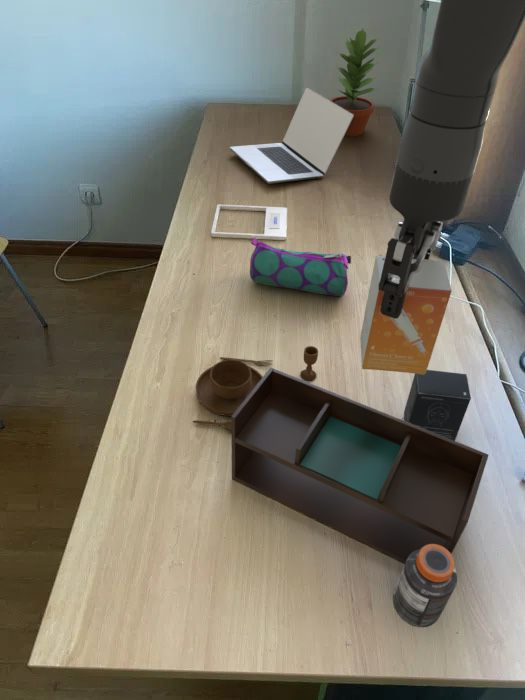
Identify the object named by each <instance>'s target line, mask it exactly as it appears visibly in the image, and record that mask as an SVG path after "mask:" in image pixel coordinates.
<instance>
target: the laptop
mask: <svg viewBox="0 0 525 700" xmlns="http://www.w3.org/2000/svg"><path fill="white" fill-rule="evenodd" d="M330 100H331V99H328V98H326V97H325V96H324V95H321V94H320V93H318V92H317V91H314V90H313V89H311V88H310V87H307V86H306V87H305V88H304V91H303V92H302V94H301V98H300V100H299V102H298V103H297V106H296V109H295V111H294V114H293V116H292V118H291V120H290V123H289V124H288V127H287V130H286V131H285V134H284V136H283V139H282V140H281V142H274V143H273V142H272V143H263V144H261V143H260V144H250V145H249V144H247V145H236V146H229V150H230V151H231V152H232V153H233V154H234V155H235V156H237V158H239V159H240V160H241V161H242V162H243V163H244V164H245V165H247V167H248V168H250V169H251V170H252V171H254V173H256V174H257V175H258V176H259V177H260V178H261V179H262V180H263V181H264V182H265V183H267V184H268V185H271V184H279V183H287V182H288V183H289V182H290V183H291V182H298V181H307V180H316V179H317V180H318V179H322V178H324V177H325V176H326V175H327V172H328V170H329V168H330V166H331V164H332V162H333V160H334V158H335V156H336V155H337V152H338V149H339V148H340V145H341V144H342V142H343V139H344V137H345V136H344V135H345V133H346V131H347V129H348V127H349V125H350V123H351V121H352V119H353V117H354V115H353V114H352V113H350V112H349V111H347V110H345V109H343V108H342V107H340V106H338V105H337V104H335V103H333V102H332V101H330Z"/></svg>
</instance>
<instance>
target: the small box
mask: <svg viewBox="0 0 525 700" xmlns="http://www.w3.org/2000/svg"><path fill="white" fill-rule="evenodd" d="M385 257H386V255H375V259H374V264H373V269H372V275H371V279H370V285H369V290H368V295H367V300H366V304H365V308H364V309H365V310H364V314H363V320H362V326H361V331H360V337H359V340H360V354H361V355H360V357H361V369H362V370H369V371H370V370H371V371H372V370H373V371H382V372H383V371H385V372H397V373H406V374H407V373H408V374H415V373H416V374H426V371H427V370H428V368H429V364H430V361H431V357H432V355H433V352H434V348H435V345H436V343H437V339H438V336H439V333H440V329H441V327H442V324H443V320H444V317H445V314H446V310H447V308H448V304H449V301H450V298H451V295H452V286H451V282H450V278H449V274H448V271H447V266H446V261H445V260H439V259H430V258H429V259H424V261H423V263H422V266H421V268H420V271H419V272H418V273H415V274H413V276H412V279H411V281H410V284H409V289H408V291H407V292H406V296H405V300H404V304H403V308H402V312H401V314H400V316H399V317H398V318H397V319H394V318H392V317H389V316H386V315H383V314H382V313H381V312H380V309H381V305H382V300H383V296H384V291H381V290H379V289H378V288H379V286H378V285H379V282H380V279H381V275H382V270H383V266H384V261H385ZM415 262H416V259H412V262H411V263H415ZM393 278H396V279H399V280H400V277H399V276H396V275H393Z"/></svg>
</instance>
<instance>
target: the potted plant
mask: <svg viewBox="0 0 525 700" xmlns="http://www.w3.org/2000/svg"><path fill="white" fill-rule="evenodd" d="M376 41H378V38H377V39H376V38H374V39H371V40H369V42H367V32H366V31H365V30H364V28H361V30H359V31H358V32H356V35H355V39H352V38H351V37H349V40H348V39H346V42H345V45H346V48H347V51H348V53H349V55H346V54H344V53H339V52H337V54H338V55H339V57H341V58H342V59H343V60H344V61H345V62H347V64H346V68H344V67H339V66H336V69H338V71H339V72H340V73H341V74H342V76H343V77H344V78H343V77H340V76H338V77H339V79H338V81H339V82H340V83H341V85H342V86H343V87H344V88H345V91H342V90H340V89H338V91H339V92H340V93H341V94H343V95H341V96H335V97H333V98H331V99H329V100H330V101H332V102H333V103H335V104H337V105H338V106H340V107H342V108H343V109H345V110H347V111H349V112H350V113H352V114H353V115H354V117H353V119H352V121H351V123H350V125H349V127H348V129H347V131H346V133H345V135H344V137H357V136H361V135H363V133H364V132H365V129H366V127H367V124H368V122H369V119H370V117H371V115H372V114H373V113H374V108H375V104H374V102H373V101H371V100H370V99H367V98H365V97H361V95H365V94H369V93H371V92H374V91H376V90H378V88H374V87H368V88H365V89H362V88H363V87H365V86H367V85H369V84H370V83H372V82H374V81H375V79H377V77H374V78H373V77H368V78H365V77H366V76H367V74H368V73H369V72H370V71H372V70H373V68H374V67H375V66H376V65H377V64H378V62H376V63H373V62H374V60H375V57H373V58H372V59H370V60H368V61H366V62H364V63H363V61H364V60H365V59H366V58H367V57H369V56H370V55H371V54H373V53H374V52H376V51H377V50H378V49H379V47H378V48H375V47H373V48H371V49H370V47H371V46H372V45H373V44H375V43H376ZM366 42H367V44H366ZM368 49H369V50H368ZM362 63H363V64H362ZM346 69H347V70H346ZM360 89H361V90H360Z"/></svg>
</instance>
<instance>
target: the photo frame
mask: <svg viewBox="0 0 525 700" xmlns="http://www.w3.org/2000/svg"><path fill="white" fill-rule="evenodd" d="M221 210H235V211H257V212H259V211H260V212H265V218H264V219H265V221H264V231H263V233H245V232H244V233H243V232H225V231H224V232H220V231H216V229H217V224H218V220H219V216H220V211H221ZM287 227H288V207H281V206H263V205H261V206H260V205H241V204H220V203H219V204H218V203H217V204H216V209H215V213H214V218H213V223H212V227H211V232H210V237H213V238H230V239H231V238H233V239H249V240H250V239H252V240H253V238H254V237H255V238H256V239H257V240H271V241H273V240H274V241H287V233H288V231H287V230H288V229H287Z"/></svg>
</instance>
